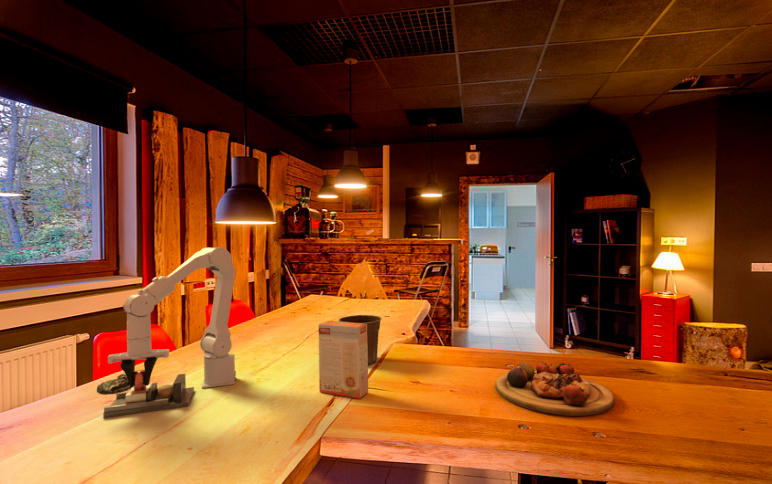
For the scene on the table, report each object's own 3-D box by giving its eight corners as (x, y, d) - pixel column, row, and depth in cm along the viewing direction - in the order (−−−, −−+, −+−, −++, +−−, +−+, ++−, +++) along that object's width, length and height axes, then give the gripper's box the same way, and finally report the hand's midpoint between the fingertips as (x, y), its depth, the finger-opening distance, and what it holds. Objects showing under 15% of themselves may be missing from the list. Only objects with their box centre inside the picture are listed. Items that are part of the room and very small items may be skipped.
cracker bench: (193, 390, 120) (193, 370, 120) (188, 406, 109) (187, 384, 109) (118, 400, 113) (117, 379, 113) (103, 418, 102) (103, 394, 102)
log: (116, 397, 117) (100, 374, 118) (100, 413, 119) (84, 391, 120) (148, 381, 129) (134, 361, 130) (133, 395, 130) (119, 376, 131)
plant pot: (333, 358, 152) (333, 316, 152) (371, 352, 159) (371, 313, 159) (347, 370, 137) (347, 324, 137) (389, 363, 144) (388, 320, 144)
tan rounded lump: (175, 393, 115) (175, 383, 115) (172, 399, 111) (172, 388, 111) (159, 395, 113) (159, 385, 113) (156, 401, 110) (156, 390, 110)
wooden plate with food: (634, 424, 96) (634, 390, 96) (499, 412, 102) (499, 381, 102) (593, 380, 127) (593, 355, 127) (492, 374, 133) (492, 349, 133)
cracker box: (369, 392, 117) (368, 322, 117) (359, 400, 111) (358, 327, 111) (329, 385, 123) (328, 319, 123) (318, 392, 117) (317, 323, 117)
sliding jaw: (157, 392, 115) (157, 365, 115) (150, 403, 107) (150, 374, 107) (133, 395, 113) (133, 368, 113) (125, 406, 106) (125, 377, 105)
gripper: (103, 343, 104) (104, 394, 104) (165, 338, 109) (166, 386, 109) (112, 337, 111) (113, 384, 111) (170, 332, 115) (170, 378, 115)
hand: (139, 385), depth 110 cm, fingers closed on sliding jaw, 3 cm apart
